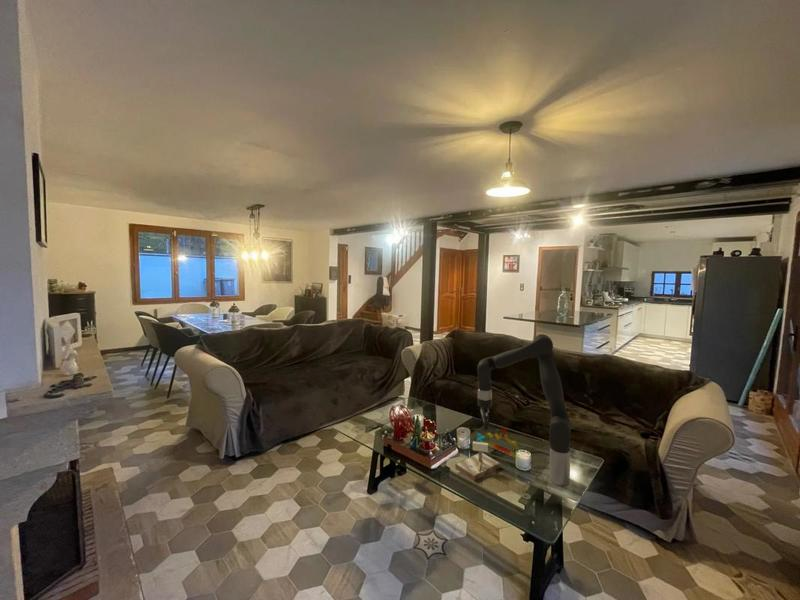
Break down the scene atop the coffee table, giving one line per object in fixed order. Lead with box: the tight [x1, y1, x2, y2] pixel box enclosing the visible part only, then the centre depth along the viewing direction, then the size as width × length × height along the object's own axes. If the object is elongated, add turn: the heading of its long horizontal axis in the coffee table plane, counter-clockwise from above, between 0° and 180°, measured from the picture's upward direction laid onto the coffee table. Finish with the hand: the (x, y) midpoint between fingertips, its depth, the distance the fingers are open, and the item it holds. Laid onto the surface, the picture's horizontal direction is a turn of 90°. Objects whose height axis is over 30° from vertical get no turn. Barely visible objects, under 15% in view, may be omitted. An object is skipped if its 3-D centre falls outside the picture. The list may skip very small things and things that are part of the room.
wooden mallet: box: [472, 440, 489, 471], centre depth 187 cm, size 10×8×10 cm
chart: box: [475, 426, 520, 459], centre depth 207 cm, size 30×3×15 cm, turn 42°
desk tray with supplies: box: [454, 452, 501, 482], centre depth 190 cm, size 20×14×3 cm
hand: (484, 425), depth 189 cm, fingers open, 8 cm apart
